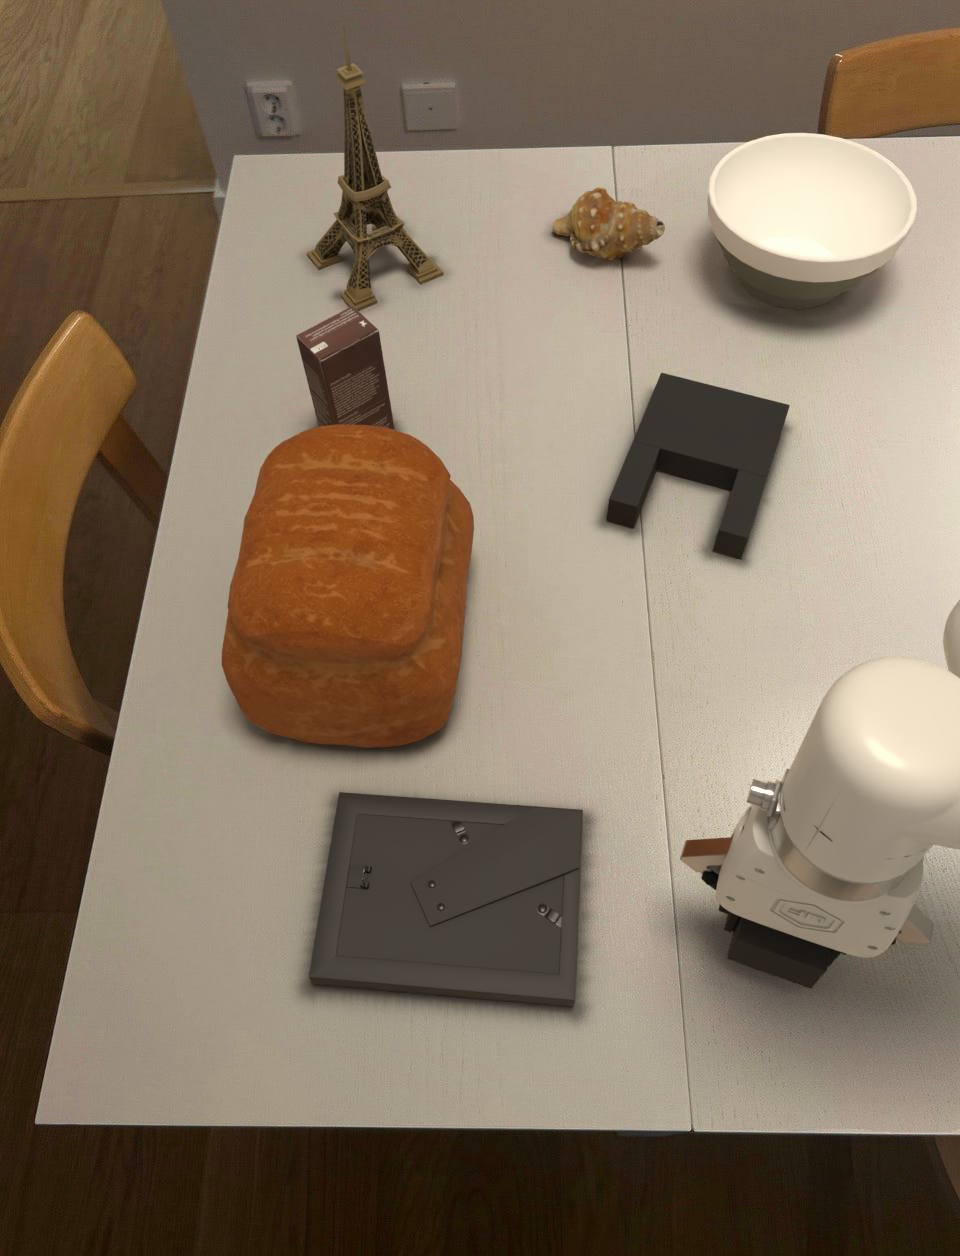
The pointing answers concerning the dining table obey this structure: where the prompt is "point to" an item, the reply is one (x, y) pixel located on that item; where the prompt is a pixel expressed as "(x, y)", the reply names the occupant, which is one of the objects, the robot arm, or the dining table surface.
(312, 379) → the box
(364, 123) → the eiffel tower
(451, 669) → the bread
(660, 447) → the forked base block
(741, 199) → the bowl
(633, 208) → the seashell
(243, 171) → the dining table surface
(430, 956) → the picture frame
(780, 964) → the dark grey square block
